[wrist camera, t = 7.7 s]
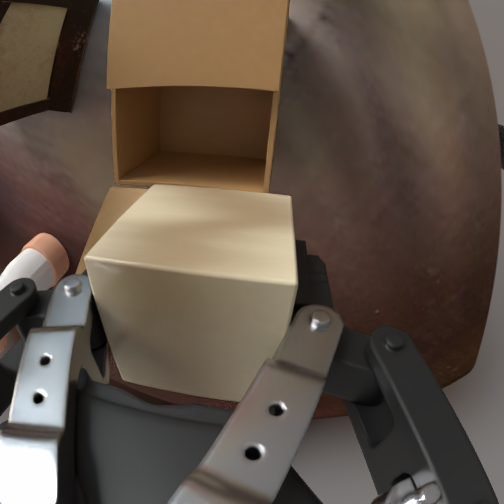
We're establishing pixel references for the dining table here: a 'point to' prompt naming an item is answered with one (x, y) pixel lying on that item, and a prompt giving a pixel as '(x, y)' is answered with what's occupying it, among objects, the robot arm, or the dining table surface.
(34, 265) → the pepper shaker
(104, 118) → the dining table surface
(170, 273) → the block
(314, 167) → the dining table surface
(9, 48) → the lantern
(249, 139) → the carton
